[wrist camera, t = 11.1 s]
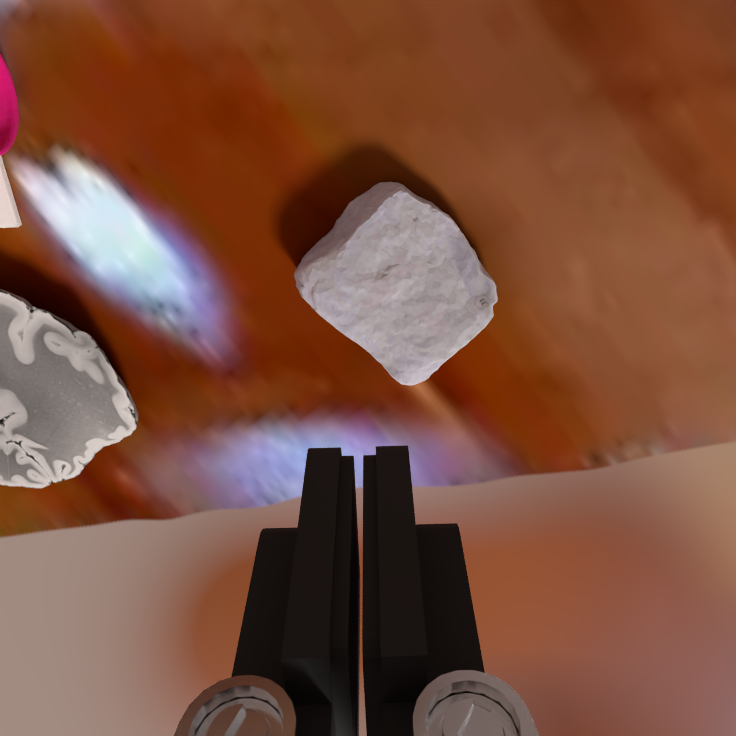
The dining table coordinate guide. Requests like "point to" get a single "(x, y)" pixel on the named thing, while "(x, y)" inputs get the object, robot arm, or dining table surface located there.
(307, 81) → the dining table surface
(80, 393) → the brain slice
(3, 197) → the white mat
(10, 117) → the pepper mill
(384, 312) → the stone block
